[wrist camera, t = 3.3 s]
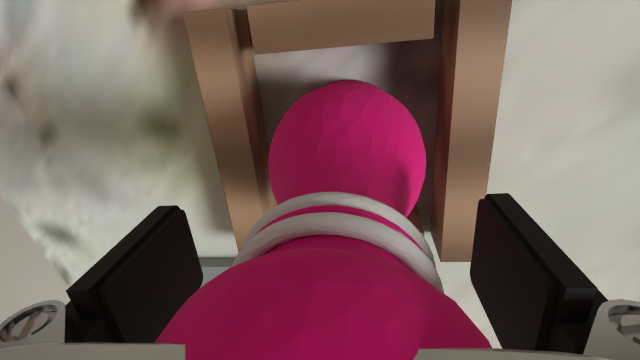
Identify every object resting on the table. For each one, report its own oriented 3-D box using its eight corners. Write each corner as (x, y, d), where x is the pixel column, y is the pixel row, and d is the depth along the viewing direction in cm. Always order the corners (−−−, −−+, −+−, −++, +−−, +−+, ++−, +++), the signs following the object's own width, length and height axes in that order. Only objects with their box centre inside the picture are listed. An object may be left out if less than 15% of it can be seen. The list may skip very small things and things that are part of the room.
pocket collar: (209, 14, 18) (182, 13, 15) (488, -17, 16) (515, -24, 13) (254, 234, 24) (241, 262, 21) (462, 231, 22) (477, 261, 19)
